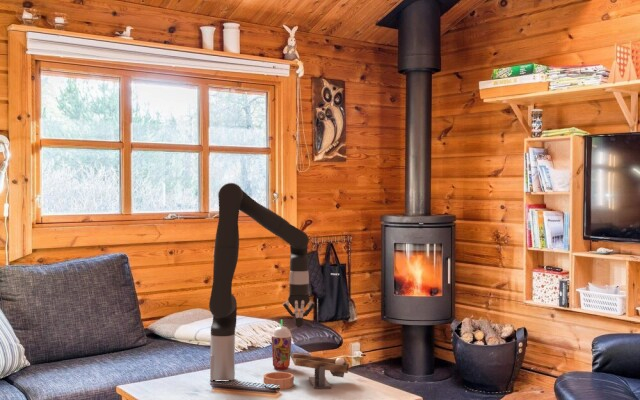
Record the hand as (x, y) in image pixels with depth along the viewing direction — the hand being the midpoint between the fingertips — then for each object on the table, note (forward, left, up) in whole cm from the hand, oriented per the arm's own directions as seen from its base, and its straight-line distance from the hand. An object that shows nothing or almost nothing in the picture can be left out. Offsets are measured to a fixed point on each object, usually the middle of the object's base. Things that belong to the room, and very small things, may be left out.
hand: (298, 327), depth 278 cm
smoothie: (-5, +17, -20) cm, 26 cm away
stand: (+7, -8, -20) cm, 23 cm away
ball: (+15, -8, -12) cm, 21 cm away
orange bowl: (-9, -8, -20) cm, 23 cm away
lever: (+7, -4, -15) cm, 17 cm away
